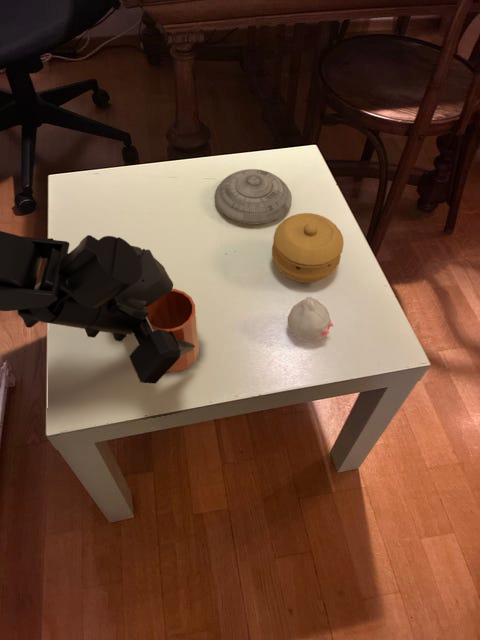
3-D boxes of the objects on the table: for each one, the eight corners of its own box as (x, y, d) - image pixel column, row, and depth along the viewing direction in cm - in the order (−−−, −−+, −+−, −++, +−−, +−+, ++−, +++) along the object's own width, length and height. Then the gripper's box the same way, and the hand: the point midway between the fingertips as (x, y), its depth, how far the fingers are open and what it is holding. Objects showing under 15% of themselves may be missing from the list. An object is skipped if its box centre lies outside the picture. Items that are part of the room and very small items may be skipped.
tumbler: (150, 372, 73) (139, 331, 64) (153, 332, 77) (143, 289, 68) (198, 371, 73) (194, 330, 64) (198, 331, 77) (195, 288, 68)
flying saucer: (252, 168, 101) (253, 145, 97) (306, 203, 95) (310, 181, 91) (198, 200, 95) (197, 178, 91) (253, 241, 89) (254, 218, 85)
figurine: (318, 357, 75) (326, 328, 69) (278, 336, 77) (283, 306, 70) (335, 327, 78) (345, 297, 72) (297, 309, 80) (304, 277, 74)
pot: (343, 253, 88) (355, 211, 80) (326, 300, 81) (337, 260, 73) (282, 235, 90) (288, 193, 82) (260, 280, 84) (264, 239, 76)
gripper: (154, 316, 50) (246, 335, 62) (98, 206, 59) (187, 241, 72) (97, 383, 54) (193, 388, 66) (53, 270, 64) (144, 293, 76)
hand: (179, 323), depth 70 cm, fingers open, 9 cm apart
